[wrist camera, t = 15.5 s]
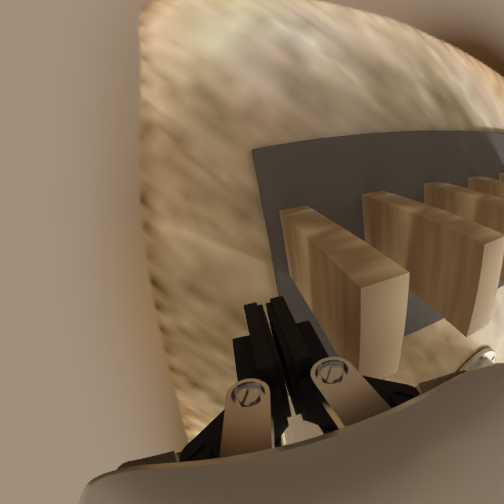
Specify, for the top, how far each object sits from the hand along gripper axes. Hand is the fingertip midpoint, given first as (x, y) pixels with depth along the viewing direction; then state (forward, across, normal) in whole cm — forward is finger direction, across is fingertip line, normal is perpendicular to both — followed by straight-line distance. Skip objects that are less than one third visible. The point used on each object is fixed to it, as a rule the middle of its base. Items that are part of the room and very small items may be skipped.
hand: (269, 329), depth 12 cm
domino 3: (+9, -10, 0) cm, 14 cm away
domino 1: (+9, -4, 0) cm, 10 cm away
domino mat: (+10, -20, +3) cm, 22 cm away
